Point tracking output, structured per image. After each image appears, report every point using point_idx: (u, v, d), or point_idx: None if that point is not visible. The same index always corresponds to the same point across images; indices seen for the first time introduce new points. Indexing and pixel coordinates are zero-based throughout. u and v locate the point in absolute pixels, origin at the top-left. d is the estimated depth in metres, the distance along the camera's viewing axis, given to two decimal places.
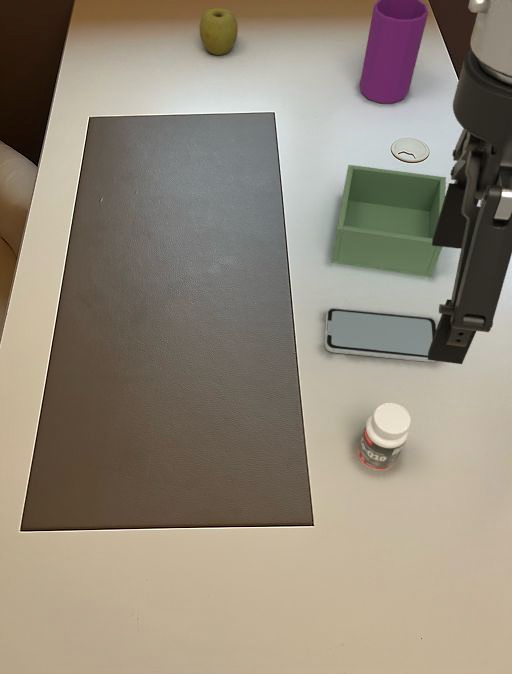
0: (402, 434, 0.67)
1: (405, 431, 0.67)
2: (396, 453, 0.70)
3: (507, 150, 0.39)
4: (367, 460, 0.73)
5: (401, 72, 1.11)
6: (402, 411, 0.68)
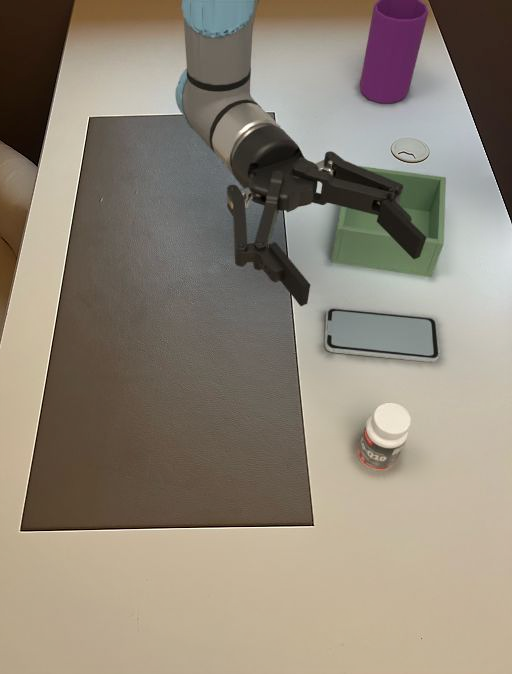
0: (402, 434, 0.67)
1: (405, 431, 0.67)
2: (396, 453, 0.70)
3: (245, 184, 0.69)
4: (367, 460, 0.73)
5: (401, 72, 1.11)
6: (402, 411, 0.68)
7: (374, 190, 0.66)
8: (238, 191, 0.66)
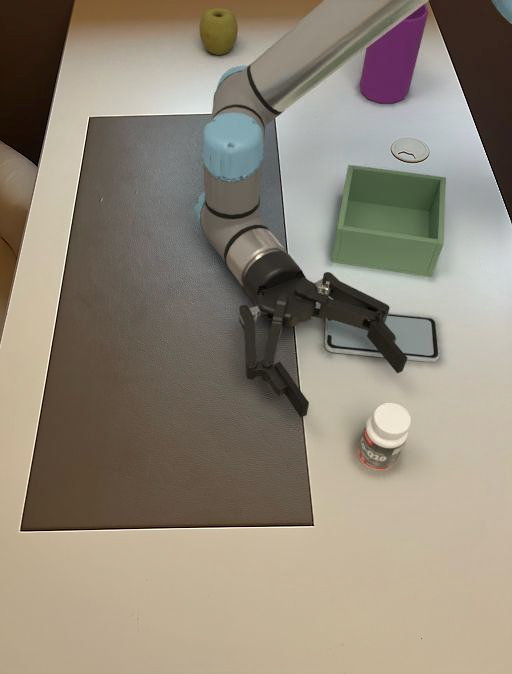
0: (402, 434, 0.67)
1: (405, 431, 0.67)
2: (396, 453, 0.70)
3: (255, 301, 0.81)
4: (367, 460, 0.73)
5: (401, 72, 1.11)
6: (402, 411, 0.68)
7: (364, 311, 0.78)
8: (249, 311, 0.78)
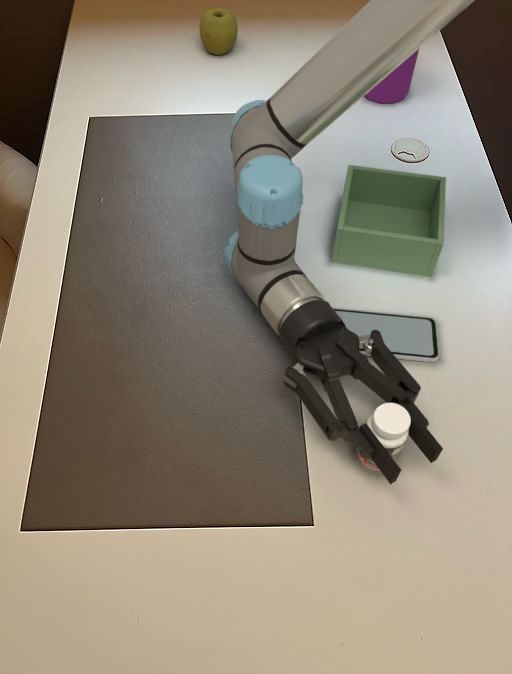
0: (402, 434, 0.67)
1: (405, 431, 0.67)
2: (396, 453, 0.70)
3: (293, 353, 0.76)
4: (367, 460, 0.73)
5: (401, 72, 1.11)
6: (402, 411, 0.68)
7: (397, 388, 0.71)
8: (297, 372, 0.73)
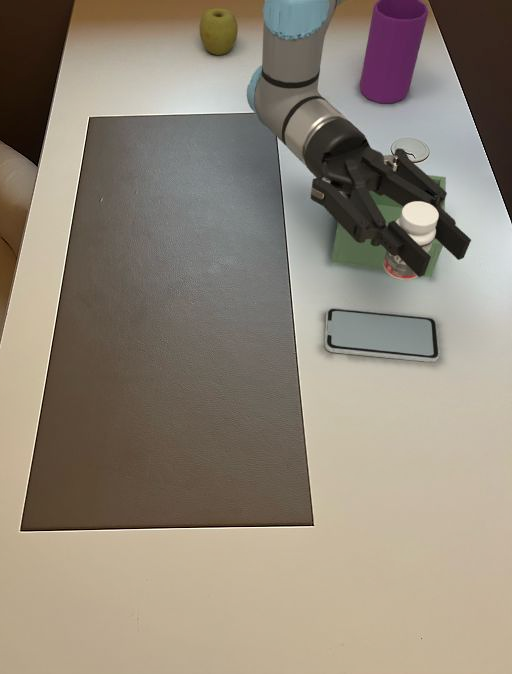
0: (431, 227, 0.68)
1: (433, 224, 0.68)
2: None
3: (318, 172, 0.77)
4: (394, 268, 0.73)
5: (401, 72, 1.11)
6: (430, 208, 0.69)
7: (423, 193, 0.72)
8: (324, 182, 0.74)
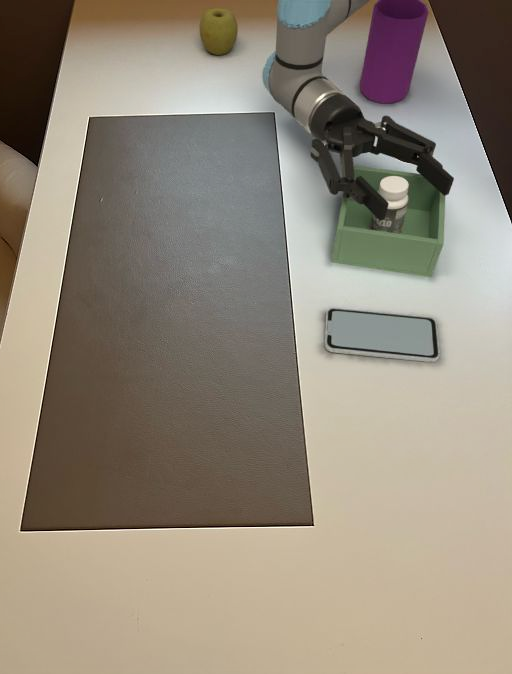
0: (402, 194, 0.88)
1: (404, 192, 0.88)
2: (399, 218, 0.91)
3: (321, 138, 0.94)
4: (377, 230, 0.93)
5: (401, 72, 1.11)
6: (402, 180, 0.89)
7: (415, 145, 0.90)
8: (321, 142, 0.91)
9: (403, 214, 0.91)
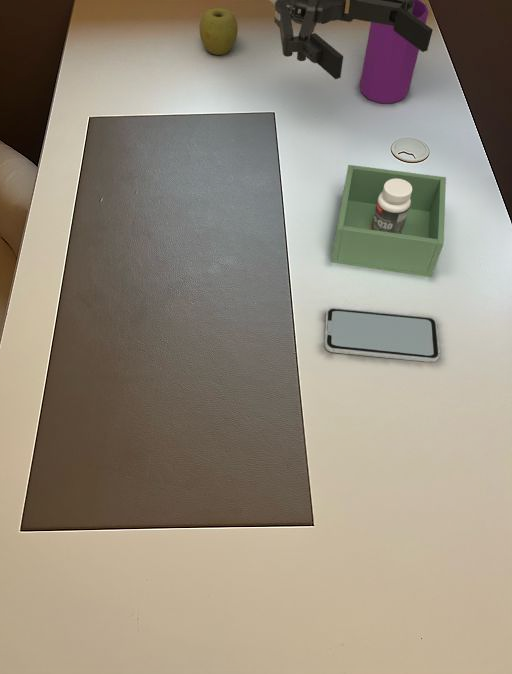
0: (405, 198, 0.88)
1: (407, 196, 0.88)
2: (400, 221, 0.91)
3: None
4: None
5: (401, 72, 1.11)
6: (406, 183, 0.89)
7: (391, 3, 0.84)
8: (284, 4, 0.84)
9: (404, 217, 0.91)
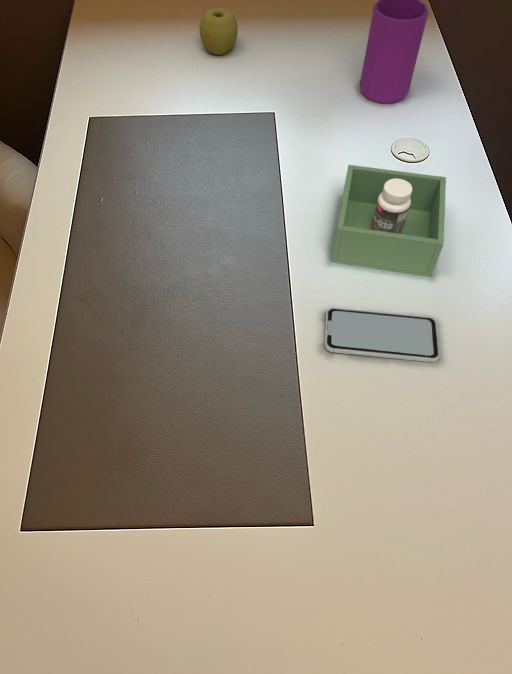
0: (405, 198, 0.88)
1: (407, 196, 0.88)
2: (400, 221, 0.91)
3: None
4: None
5: (401, 72, 1.11)
6: (406, 183, 0.89)
7: None
8: None
9: (404, 217, 0.91)
